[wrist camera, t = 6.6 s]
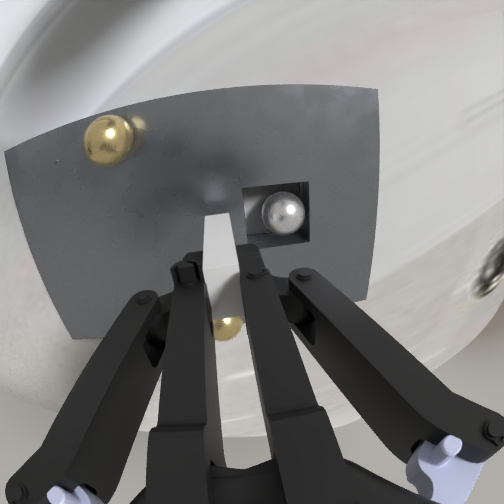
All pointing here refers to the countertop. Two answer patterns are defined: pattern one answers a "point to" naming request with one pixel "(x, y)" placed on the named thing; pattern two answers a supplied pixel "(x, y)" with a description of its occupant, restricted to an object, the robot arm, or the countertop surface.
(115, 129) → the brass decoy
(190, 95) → the plate
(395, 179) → the countertop surface
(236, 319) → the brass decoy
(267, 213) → the steel ball
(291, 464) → the robot arm
